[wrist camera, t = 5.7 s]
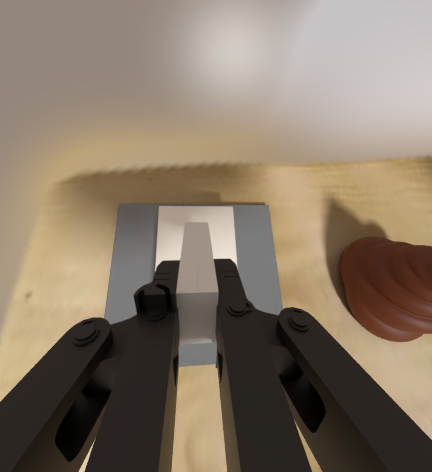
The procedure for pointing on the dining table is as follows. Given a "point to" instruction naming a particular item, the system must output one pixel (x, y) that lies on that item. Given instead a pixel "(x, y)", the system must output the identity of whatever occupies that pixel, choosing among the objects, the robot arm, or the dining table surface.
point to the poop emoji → (389, 287)
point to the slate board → (144, 260)
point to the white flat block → (176, 216)
